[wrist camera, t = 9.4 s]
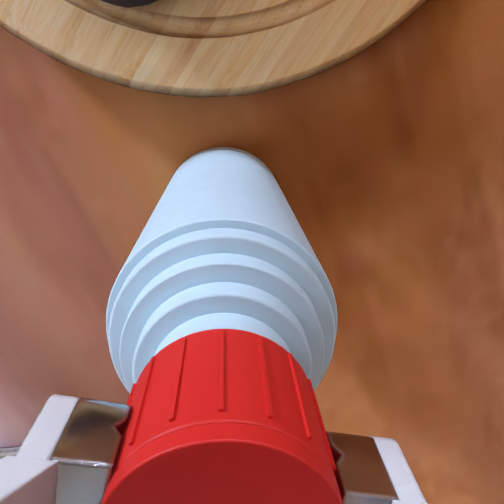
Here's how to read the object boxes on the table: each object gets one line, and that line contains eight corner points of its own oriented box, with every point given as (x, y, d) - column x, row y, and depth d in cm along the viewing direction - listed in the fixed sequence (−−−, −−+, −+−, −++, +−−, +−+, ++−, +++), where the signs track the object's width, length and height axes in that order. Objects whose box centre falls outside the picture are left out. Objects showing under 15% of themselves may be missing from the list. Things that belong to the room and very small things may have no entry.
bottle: (165, 144, 26) (-11, 327, 7) (284, 149, 27) (453, 334, 7) (167, 256, 29) (39, 640, 9) (276, 259, 29) (386, 630, 9)
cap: (289, 484, 11) (313, 634, 8) (122, 464, 11) (81, 617, 8) (332, 341, 10) (381, 457, 7) (144, 312, 10) (105, 421, 6)
